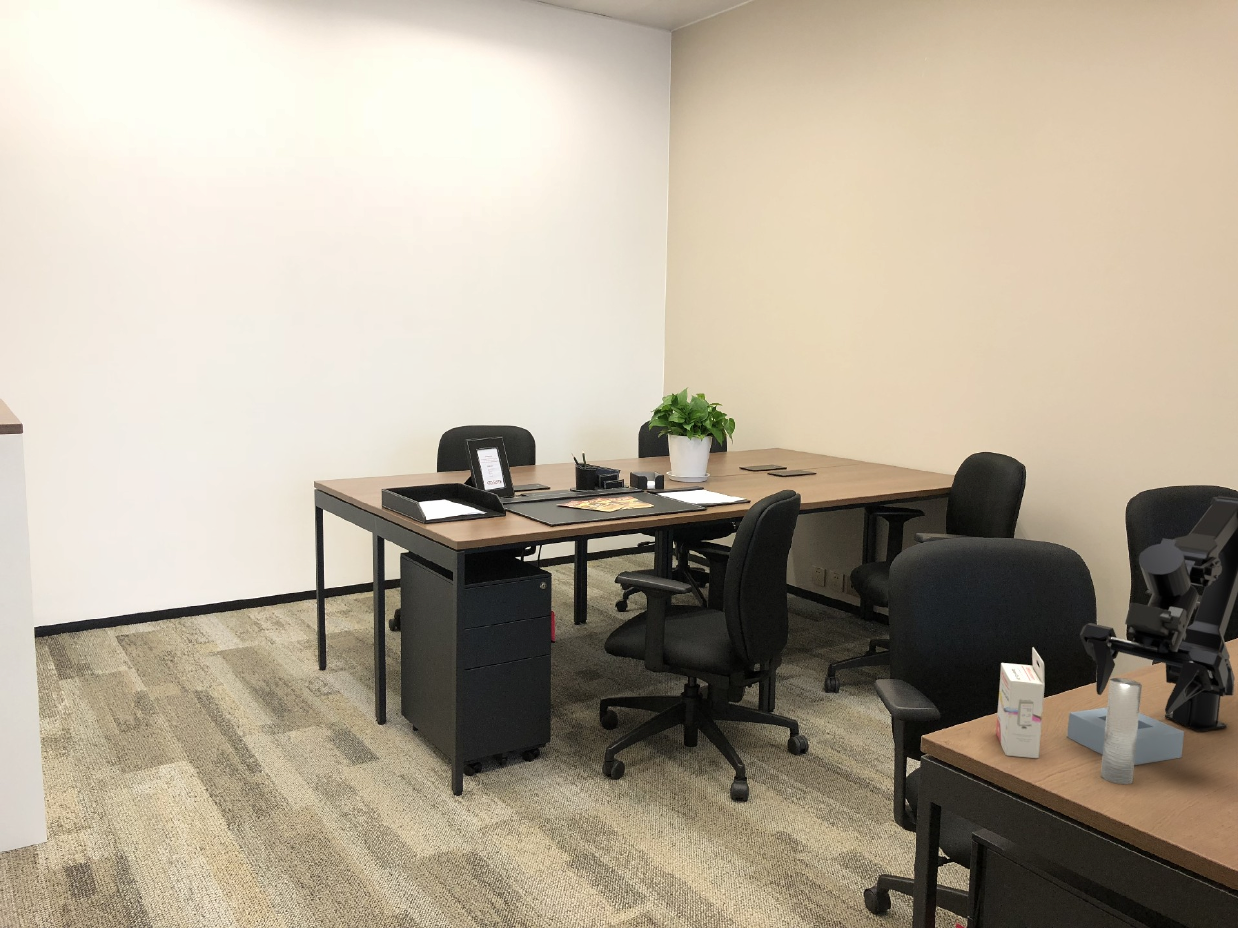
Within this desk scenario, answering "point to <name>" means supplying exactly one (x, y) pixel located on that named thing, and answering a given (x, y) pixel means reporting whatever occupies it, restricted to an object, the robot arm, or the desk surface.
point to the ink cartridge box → (1021, 708)
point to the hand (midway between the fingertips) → (1131, 702)
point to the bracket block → (1151, 735)
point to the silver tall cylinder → (1121, 730)
